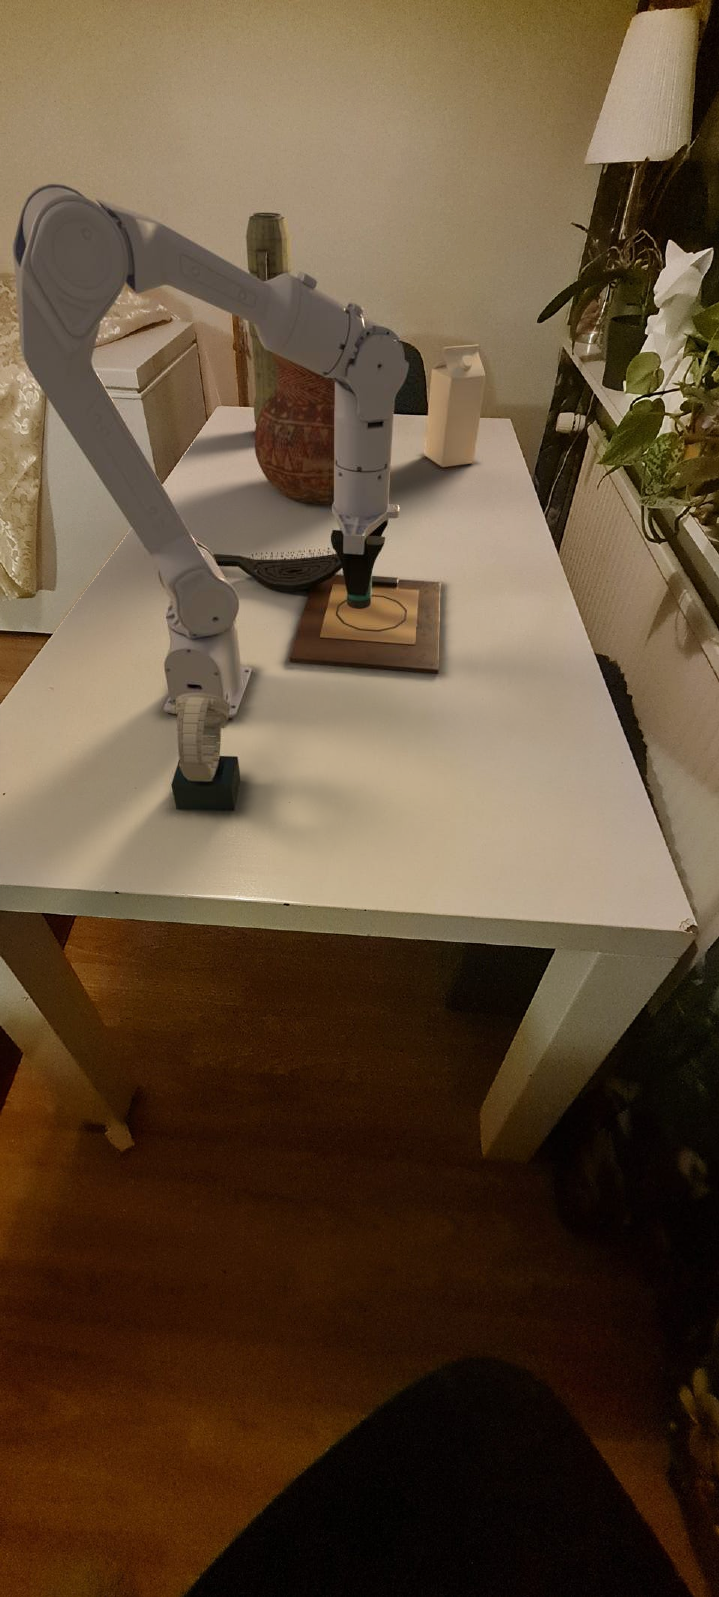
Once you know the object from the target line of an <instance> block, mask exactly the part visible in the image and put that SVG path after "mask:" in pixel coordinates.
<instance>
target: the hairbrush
mask: <svg viewBox="0 0 719 1597" xmlns="http://www.w3.org/2000/svg"><path fill="white" fill-rule="evenodd" d="M311 551H312V550H311V549H309V550H308V555H306V557H305V556H304V553H305V550H303V553H302V550H299V553H301V555H300V557H299V554H298V553H297V554H296V556H294V554H295V551H293V554H291V557H290V556H289V554H290V553H289V551H287V554H286V557H284V554H283V552H280V554H281V555H280V558H278V556H279V552H277V554H276V555H275V558H274V555H273V552H270V554H271V555H269V558H270V559H268V558H267V556H262V557H260V559H254V558H252V557H254V554H253V553H252V554H251V556H248V557H247V556H243V555H240V554H239V555H237V554H225V553H223V554H222V553H212V554H213V556H214V557H215V560H216V563H217V565H218V567H226V568H227V567H228V568H229V567H231V568H233V567H234V568H235V567H237V568H239V569H241V571H243V572H244V573H245V574H247V575H248V576H250V577H251V578H253V579H254V580H255V581H256V582H258V583H259V584H261V585H262V586H265V587H268V588H271V589H274V590H275V591H276V590H277V591H289V592H294V591H299V590H305V589H306V590H307V589H310V588H311V587H313V586H315V585H318V584H320V583H322V582H324V581H326V580H328V579H330V578H331V577H333V576H334V575H337V573H339V572H340V571H341V570H342V566H341V563H340V560H339V558H338V555H337V553H336V552H335V551H334V552H335V553H334V552H332V551H331V550H330V547H327V554H325V555H324V552H325V551H326V549H323V551H324V552H322V553H321V552H320V551H321V549H320V548H319V549H318V552H317V555H316V554H315V552H316V550H315V549H314V550H313V552H311ZM330 553H331V554H330ZM266 554H268V551H266ZM255 555H256V556H257V555H258V553H257V552H256V553H255ZM260 555H263V552H261V553H260ZM293 556H294V557H293ZM287 557H288V558H287ZM292 557H293V558H292Z"/></svg>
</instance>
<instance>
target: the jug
mask: <svg viewBox="0 0 719 1597" xmlns="http://www.w3.org/2000/svg"><path fill="white" fill-rule="evenodd" d="M272 353H273V352H272ZM273 356H274V360H275V363H276V370H277V387H276V389H275V391H274V393H273V394H272V395H271V396H270V397H269V398H268V400H267V401H266V402H265V404H264V405H263V407H262V409H261V411H260V414H259V416H258V420H257V423H255V427H254V428H255V429H254V452H255V456H256V457H255V458H256V461H257V462H258V465H259V467H260V470H261V472H262V474H263V475H264V477H265V479H266V480H267V482H268V483H270V484H271V486H272V487H273V488H274V489H276V490H277V491H278V492H279V493H281V494H282V495H284V496H285V497H288V498H290V499H291V500H296V501H299V502H304V503H309V504H318V505H327V504H328V505H329V504H333V502H334V410H335V382H336V381H334V380H333V379H332V378H326V377H323V376H321V375H319V374H317V373H315V372H313V371H311V370H309V369H307V368H305V367H302V366H300V365H298V364H296V363H294V362H292V361H290V360H288V359H286V358H284V357H281V356H279V355H277V354H275V353H273ZM338 383H340V384H341V385H343V386H345V385H344V384H342V383H341V382H338ZM345 387H347V386H345Z"/></svg>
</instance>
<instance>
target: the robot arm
mask: <svg viewBox="0 0 719 1597" xmlns="http://www.w3.org/2000/svg"><path fill="white" fill-rule="evenodd" d="M95 201H96V202H97V203H96V202H95ZM95 201H94V200H92V199H89V198H87V197H86V196H85V195H83V193H81V192H80V191H78V190H77V189H75V188H73V187H71V186H68V185H66V184H61V183H48V184H43V185H41V186H39V187H37V188H35V189H34V190H33V191H32V192H31V193H30V194H28V196H27V197H26V199H25V201H24V202H23V206H22V208H21V211H20V216H19V219H18V223H17V225H16V226H17V227H16V230H15V234H14V238H13V241H12V257H13V266H14V272H15V273H14V275H15V290H16V306H17V319H18V321H17V322H18V336H19V337H18V338H19V345H20V351H21V355H22V357H23V359H24V361H25V364H26V366H27V368H28V370H29V372H30V374H31V375H32V376H33V378H34V381H36V383H37V384H38V386H39V387H40V389H41V391H42V392H43V393H44V395H45V397H46V398H47V400H48V401H49V402H50V404H51V406H52V407H53V409H54V410H55V412H56V413H57V415H58V416H59V418H60V419H61V421H62V423H63V424H64V425H65V427H66V429H67V430H68V432H69V433H70V435H71V437H72V438H73V440H74V441H75V443H76V444H77V445H78V447H79V449H80V450H81V451H82V453H83V455H84V456H85V458H86V459H87V461H88V463H89V464H90V466H91V467H92V468H93V470H94V471H95V474H97V476H98V477H99V480H100V481H101V482H102V484H103V485H104V487H105V489H106V490H107V492H108V493H109V494H110V497H111V498H112V500H113V501H114V502H115V503H116V505H117V507H118V508H119V510H120V511H121V513H122V515H123V517H124V518H125V519H126V521H127V522H128V524H129V526H130V527H131V528H132V530H133V531H134V533H135V534H136V536H137V538H138V540H139V541H140V542H141V543H142V545H143V547H144V548H145V550H146V552H147V553H148V554H149V556H150V558H151V559H152V561H153V563H154V565H155V566H156V568H157V576H158V579H159V581H160V584H161V585H162V587H163V588H164V590H165V591H166V593H167V596H168V598H169V600H170V601H169V604H168V607H167V612H166V614H165V617H166V618H165V619H166V624H167V629H168V636H169V646H168V647H169V648H168V651H167V654H166V656H165V659H164V664H163V668H164V674H165V679H166V685H167V690H168V695H169V696H168V698H167V699H166V702H165V704H164V706H163V711H164V713H167V714H168V713H169V714H172V713H171V706H172V705H176V699H177V697H179V696H180V695H183V694H187V693H205V694H211V695H215V696H218V697H220V698H222V699H224V700H226V701H227V702H228V703H229V704H230V711H229V717H228V719H233V718H235V717H236V716H237V714H238V711H239V708H240V706H241V703H242V700H243V697H244V694H245V692H246V688H247V687H248V682H249V681H250V677H251V675H252V672H253V669H252V667H251V666H246V665H245V666H243V665H242V664H241V655H240V644H239V635H238V634H239V633H238V625H237V616H238V613H239V611H240V610H239V609H240V599H239V596H238V593H237V591H236V589H235V587H234V586H233V585H232V584H231V583H229V581H228V580H227V578H226V576H225V575H224V573H223V572H222V570H221V568H220V566H218V565H217V563H216V560H215V557H214V556H213V554H214V553H213V552H212V551H211V550H210V548H208V547H207V546H206V545H204V544H202V543H201V542H199V541H198V540H196V539H195V538H194V536H193V535H192V534H191V532H190V530H189V528H188V526H187V525H186V523H185V521H184V520H183V518H182V516H181V515H180V512H179V511H178V510H177V508H176V506H175V504H174V503H173V501H172V499H171V497H170V496H169V494H168V493H167V490H166V489H165V487H164V485H163V484H162V482H161V480H160V479H159V477H158V475H157V474H156V472H155V470H154V467H152V465H151V464H150V461H149V460H148V458H147V457H146V455H145V453H144V451H143V450H142V448H141V446H140V445H139V443H138V441H137V439H136V437H135V436H134V434H133V432H132V431H131V428H130V427H129V426H128V424H127V422H126V421H125V418H124V417H123V415H122V413H121V412H120V410H119V409H118V406H117V405H116V403H115V402H114V400H113V398H112V396H111V394H110V392H109V391H108V390H107V387H106V386H105V384H104V383H103V381H102V379H101V377H100V376H99V374H98V372H97V370H96V368H95V367H94V365H93V361H92V360H93V355H94V351H95V348H96V343H97V339H98V335H99V332H100V327H101V322H102V321H103V319H104V318H105V316H106V315H107V314H108V312H109V311H110V310H111V308H112V307H113V306H114V304H115V303H116V301H117V300H118V298H119V296H120V295H121V293H122V291H123V289H124V287H125V285H127V287H129V289H131V290H132V291H133V293H135V294H141V293H145V292H147V291H151V290H153V289H157V288H159V287H163V286H169V287H172V288H174V289H176V290H177V291H181V292H183V293H184V294H187V295H189V296H191V297H194V298H196V299H198V300H201V301H203V302H205V303H207V304H209V305H211V306H213V307H215V308H218V309H220V310H222V311H224V312H226V313H228V314H232V315H234V316H236V317H238V318H240V319H242V320H244V321H247V322H248V321H249V322H251V323H253V325H254V327H255V329H256V331H257V334H258V337H259V340H260V342H261V344H262V346H263V347H264V348H265V349H266V350H269V351H271V352H273V353H275V354H277V355H279V356H281V357H284V358H286V359H288V360H290V361H292V362H294V363H296V364H298V365H300V366H302V367H305V368H307V369H309V370H311V371H313V372H315V373H317V374H319V375H321V376H323V377H326V378H332V379H333V380H334V381H336V382H335V410H334V502H333V503H331V505H332V506H331V514H332V516H333V518H334V520H335V522H336V524H337V526H338V528H339V529H332V532H331V534H330V544H331V547H332V549H333V551H334V552H336V553H337V555H338V558H339V560H340V563H341V566H342V569H341V570H342V575H344V580H345V585H346V589H347V593H348V595H355V596H366V594H367V592H368V588H369V584H370V579H371V574H372V575H373V569H374V567H375V566H374V565H375V563H376V560H377V558H378V556H379V554H380V553H381V551H382V549H383V547H384V545H385V543H386V542H385V541H386V536H382V535H383V534H384V532H385V530H386V528H387V527H388V523H389V519H398V518H399V516H400V505H398V504H393V503H389V502H390V482H391V466H392V449H393V448H392V447H393V434H394V433H393V431H394V414H395V403H396V402H395V400H396V397H397V395H398V392H399V391H400V389H402V387H403V385H404V383H405V381H406V379H407V376H408V373H409V367H410V363H409V361H407V360H406V357H405V356H406V354H405V350H404V344H402V342H400V337H399V336H398V335H397V334H396V333H395V332H394V331H393V330H392V329H390V328H389V327H386V326H385V325H383V324H381V323H379V322H377V321H376V320H373V319H371V318H369V317H367V316H365V315H364V308H363V307H362V306H360V305H359V304H357V303H355V302H354V301H349V302H348V303H347V305H346V304H344V303H342V302H341V301H339V300H337V299H335V298H334V297H332V296H330V295H328V294H326V293H325V292H322V291H321V290H319V289H317V288H316V287H317V285H318V280H317V279H316V278H315V277H312V276H311V275H309V274H307V273H305V272H303V271H301V270H300V271H298V273H297V276H295V275H292V274H291V273H290V274H289V273H283V274H280V275H278V276H277V277H275V278H273V279H270V280H268V281H261V280H260V279H258V278H256V277H254V276H253V275H251V274H250V272H248V271H246V270H244V269H242V268H240V267H238V266H237V265H236V264H234V263H232V262H229V260H227V259H225V258H223V257H221V256H219V255H217V254H216V253H214V252H213V251H211V250H209V249H207V248H206V247H204V246H202V245H200V244H198V243H197V242H195V241H193V240H191V239H190V238H188V237H186V236H185V235H183V234H181V233H179V232H177V231H175V230H174V229H172V228H171V227H169V226H167V225H165V224H164V223H162V222H160V221H159V220H156V219H154V218H153V217H150V216H149V215H148V216H147V215H146V214H143V213H139V212H137V211H134V210H131V209H128V208H125V207H124V206H119V205H117V204H115V203H112V202H108V201H105V200H103V199H99V198H95ZM338 382H341V383H342V384H344V385H345V386H347V387H345V386H343V385H341V384H340V383H338Z"/></svg>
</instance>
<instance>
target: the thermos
mask: <svg viewBox="0 0 719 1597" xmlns="http://www.w3.org/2000/svg"><path fill="white" fill-rule="evenodd" d="M246 228H247V229H246V235H245V240H246V242H245V243H246V255H247V256H246V257H247V269H248V271H249V272H248V273H249V274H251V275H253V276H254V277H256V278H258V279H260V280H261V281H268V280H270V279H273V278H275V277H277V276H278V275H280V274H283V273H289V274H291V271H292V253H291V252H292V250H291V234H290V230H289V228H288V224H287V219H286V217H284V216H282V214H280V213H277V212H254V213H253V215H250V216H249V217H248V223H247V227H246ZM247 324H248V333H249V336H250V338H251V344H252V345H251V346H252V360H253V375H254V376H253V377H254V388H255V389H254V391H255V398H254V401H253V416H254V418H253V419H254V423H255V424H256V423H257V420H258V416H259V414H260V411H261V409H262V407H263V405H264V404H265V402H266V401H267V400H268V398H269V397H270V396H271V395H272V394H273V393H274V391H275V389H276V387H277V370H276V363H275V360H274V356H273V353H272V352H271V351H269V350H266V349H265V348H264V347H263V346H262V344H261V342H260V340H259V337H258V334H257V331H256V329H255V327H254V325H253V323H251V322H249V321H247Z"/></svg>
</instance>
